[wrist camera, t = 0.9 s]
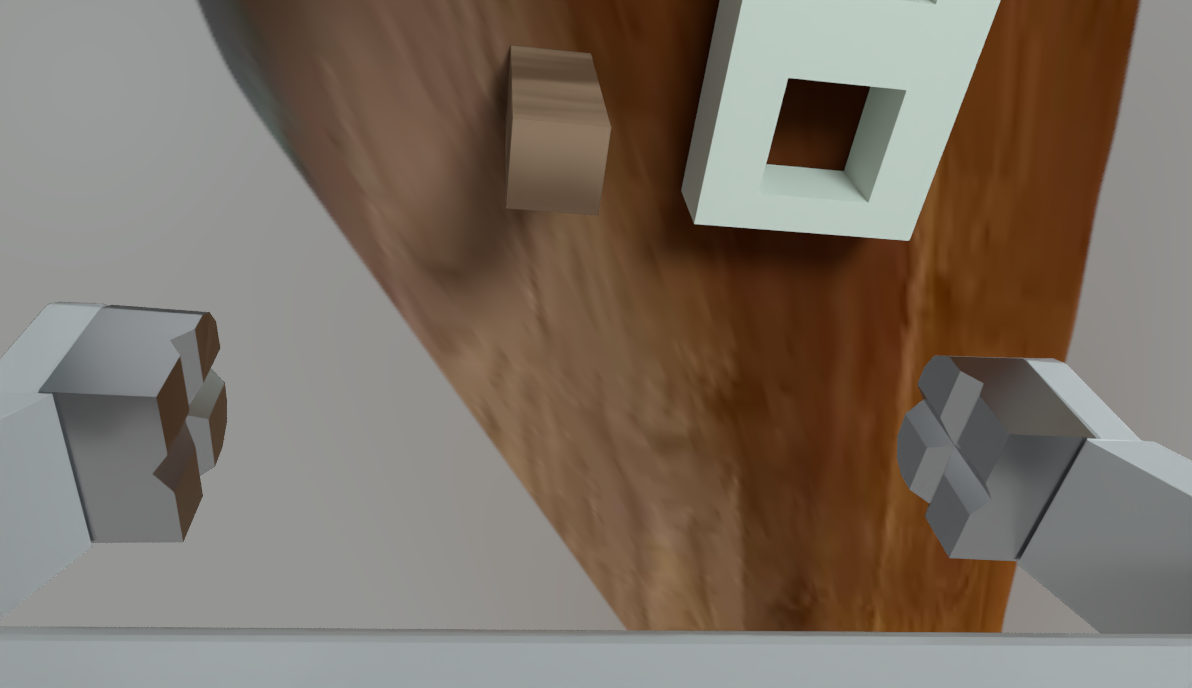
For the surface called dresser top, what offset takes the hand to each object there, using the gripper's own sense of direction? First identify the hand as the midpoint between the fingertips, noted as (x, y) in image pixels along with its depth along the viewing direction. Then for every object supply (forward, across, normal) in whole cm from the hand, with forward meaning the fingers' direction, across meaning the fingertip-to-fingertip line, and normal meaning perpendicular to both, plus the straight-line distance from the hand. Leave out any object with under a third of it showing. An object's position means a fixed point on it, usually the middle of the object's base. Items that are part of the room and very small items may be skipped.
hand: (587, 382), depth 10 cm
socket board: (+36, -16, +2) cm, 39 cm away
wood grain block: (+36, -2, +7) cm, 37 cm away
